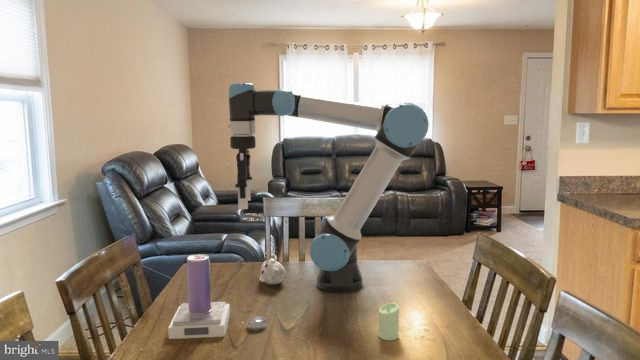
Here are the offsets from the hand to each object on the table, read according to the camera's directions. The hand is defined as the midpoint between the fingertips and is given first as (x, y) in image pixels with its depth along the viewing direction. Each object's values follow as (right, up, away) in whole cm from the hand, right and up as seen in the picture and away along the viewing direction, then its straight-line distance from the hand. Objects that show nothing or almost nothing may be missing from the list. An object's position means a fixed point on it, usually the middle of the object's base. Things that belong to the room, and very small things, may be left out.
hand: (244, 204), depth 148 cm
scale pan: (-9, -29, -19) cm, 35 cm away
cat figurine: (+7, -27, +14) cm, 32 cm away
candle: (+41, -33, -25) cm, 58 cm away
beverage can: (-9, -28, -19) cm, 35 cm away
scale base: (-9, -32, -19) cm, 38 cm away
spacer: (+6, -32, -19) cm, 38 cm away
